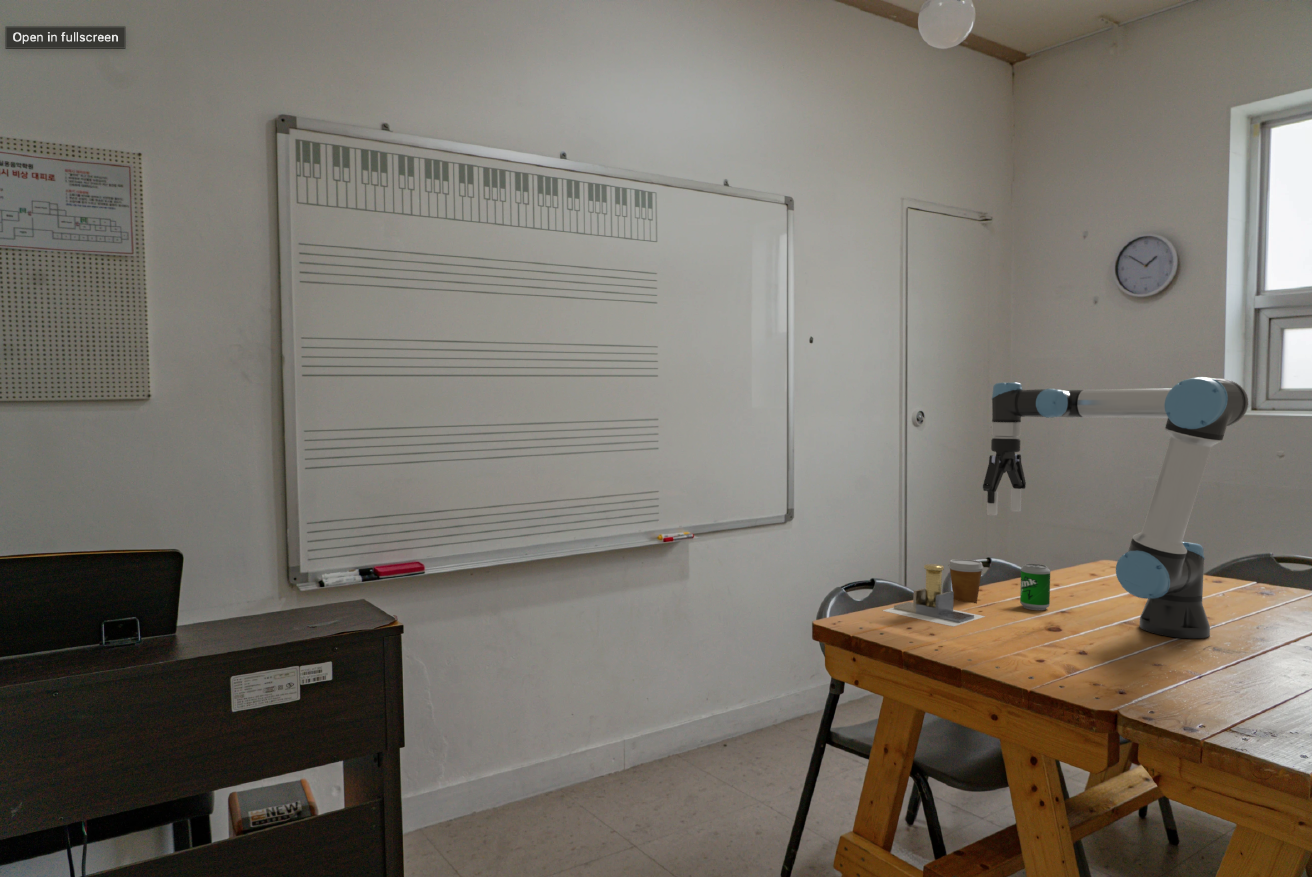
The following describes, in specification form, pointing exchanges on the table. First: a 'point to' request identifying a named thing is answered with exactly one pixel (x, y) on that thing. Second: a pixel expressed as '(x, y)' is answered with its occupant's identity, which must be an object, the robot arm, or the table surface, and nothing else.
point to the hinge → (940, 611)
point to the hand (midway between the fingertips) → (1004, 513)
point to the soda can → (1035, 587)
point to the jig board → (931, 619)
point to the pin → (933, 583)
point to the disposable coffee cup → (965, 579)
